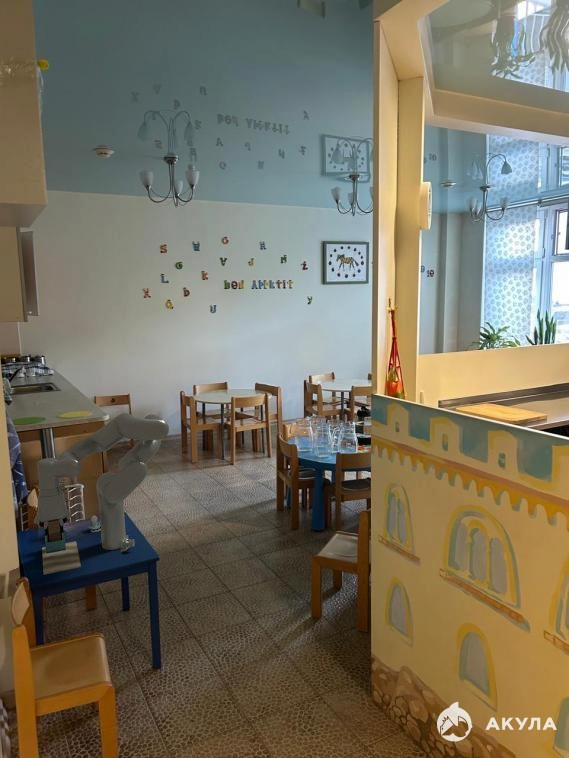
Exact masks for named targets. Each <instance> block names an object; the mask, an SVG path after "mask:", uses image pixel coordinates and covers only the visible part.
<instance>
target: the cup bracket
mask: <svg viewBox="0 0 569 758" xmlns="http://www.w3.org/2000/svg"><path fill="white" fill-rule="evenodd" d="M65 536H66V535H65V533H62V536H61V540H55V541H50V540H49V538H48V536H45V535H44V542H45V543H44V545H45V547H46V554H48V553H53V552H58V551H64V550H66V545H65V543H66V537H65Z"/></svg>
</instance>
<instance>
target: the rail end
mask: <svg viewBox="0 0 569 758" xmlns="http://www.w3.org/2000/svg"><path fill="white" fill-rule="evenodd" d="M59 523H60V522H59V519H56V520H51V521H48V524H47V525H48V530H49V540H50V541H55V540H61V536H60V525H59Z"/></svg>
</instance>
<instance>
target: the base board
mask: <svg viewBox="0 0 569 758" xmlns="http://www.w3.org/2000/svg"><path fill="white" fill-rule="evenodd" d="M65 545H66V550H64V551H58V552H53V553H48V554H46V546H44V547H42V548H41V552H42V553H41V554H42V569H43V570H42V571H43V576H45V575H50V574H53V573H59V572H64V571H69V570H75V569H78V568H82V564H81V561H80V554H79V550H78V543H77V541H76V540H75V541H70V542H65Z"/></svg>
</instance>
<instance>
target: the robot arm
mask: <svg viewBox="0 0 569 758" xmlns="http://www.w3.org/2000/svg"><path fill="white" fill-rule="evenodd" d="M169 432H170V425H169V424H168V423H167V421H166V420H164V419H163V418H162V417H160V416H159V415H157V414H153V413H150V414H147V415H146V416H145V417H144V418H139V417H135V416H134V415H132V414H130V413H128V412H122V413H120V414H118V415H117V416H116V417H114V418H112V420H110V421H109V422H108V423H106V424H105V425H103V426H102V427H101V428H99V429H98V430H97V431H95V432H94V433H92V434H90V435H88V436H86V437H84V438H82V439H79V440H78V441H76V442H74V443H73V444H72V445H70V446H69V447H68V448H66V449H65V450H64V451H62V453H60V454H59V456H58V457H57V459H56V458H55V457H46V458H42V459H41V460H38V461H37V463H36V466H37V467H36V468H37V477H38V489H39V494H38V495H37V514H36V516H35V518H34V520H33V524H37V525H38V526H40V527H41V528H43V529H44V534H45V535H44V537H45V536H48V538H49V530H48V521H51V520H56V519H59V525H60V536H62V533H64V530H65V529H64V525H65V524H66V522H67V521H68V520H70V519H71V518H72V517H73V514H72V513H71V512H70V510H69V509H68V508H67V503H66V496H65V493H64V491H63V490H66V486H65V485H62V484H61V478H73V477H75V476H78V475H79V474H80V473H81V470H82V464H81V462H82V461H83V460H84V459H86V458H87V457H89V456H91V455H94V454H96V453H102V452H107V451H108V450H110V449H111V448H113V447H114V446H116V444H118V443H119V442H121V441H122V440H123V439H129V440H130V439H131V440H139V441H137V443H136V444H135V445H134V446H133V447H132V448H131V449H130V450H129V451H128V452H127V453H125V455H124V456H122V457H121V459H120V460H119V461H118V464H117V468H118V473H117V474H116V473H115V472H112V471H107V472H104V473H102V474H101V475H100V476H98V478H97V481H96V484H95V485H96V494H97V495H96V496H97V501H98V511H99V521H100V526H101V528H100V529H101V531H100V537H101V547H102V549H103V550H106V551H107V550H108V551H114V550H118V549H119V550H120V552H121V553H124V552H125V551H127V550H129V548H131V547H135V544H136V543H135V539H131V538H129V534H126V533H127V532H126V531H127V530H126V520H125V504H124V500H126V499H127V498H128V497H129V496H130V495H131V494H132V493H133V492H134V491H135V490H136V489H137V488H138V487H140V485H141V484H142V483H143V482H144V480H145V479H146V477H147V474H148V466H147V464H148V463H149V462H150V461H151V459H153V458H154V456H155V455H156V454H157V452H158V451H159V449H160V448H161V444H162V440H163V439H165V438H166V437H167V436H168V434H169ZM64 534H65V533H64Z"/></svg>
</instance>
